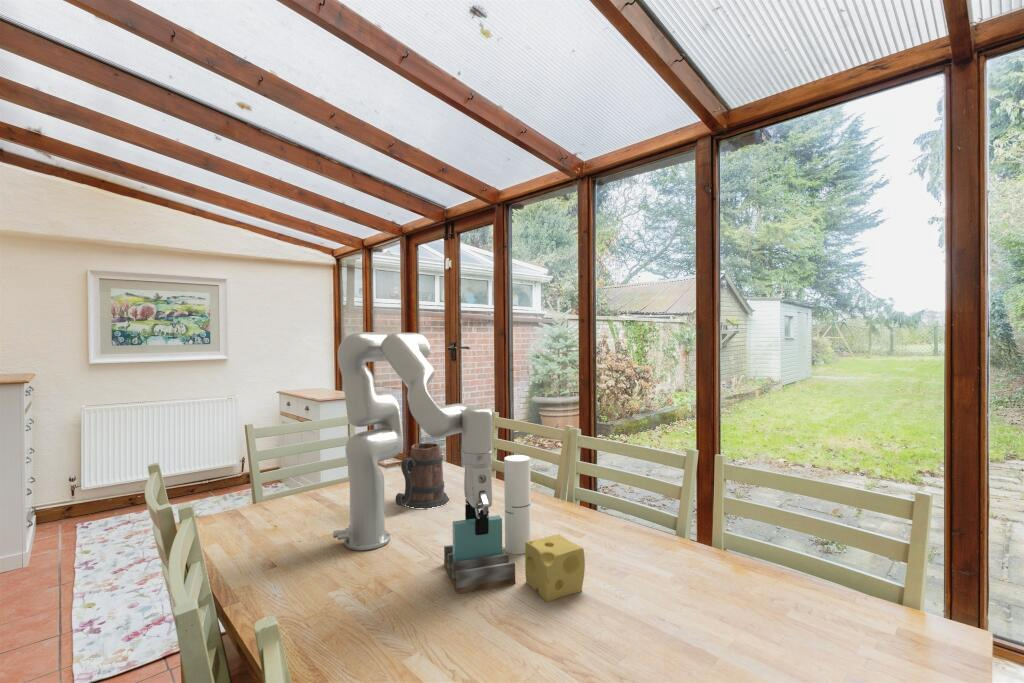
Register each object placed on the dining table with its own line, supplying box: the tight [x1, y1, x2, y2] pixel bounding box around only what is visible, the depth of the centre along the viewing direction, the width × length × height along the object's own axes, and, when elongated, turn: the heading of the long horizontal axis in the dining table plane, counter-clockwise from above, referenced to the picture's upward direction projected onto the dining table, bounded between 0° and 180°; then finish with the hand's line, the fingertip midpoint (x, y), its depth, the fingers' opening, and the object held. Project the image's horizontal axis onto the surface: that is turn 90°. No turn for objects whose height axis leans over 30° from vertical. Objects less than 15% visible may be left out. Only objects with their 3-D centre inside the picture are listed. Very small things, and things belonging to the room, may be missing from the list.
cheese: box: [524, 534, 586, 603], centre depth 113 cm, size 10×11×10 cm
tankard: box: [394, 442, 450, 508], centre depth 171 cm, size 24×17×20 cm
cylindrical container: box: [503, 454, 532, 555], centre depth 134 cm, size 7×7×25 cm
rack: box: [443, 544, 517, 595], centre depth 120 cm, size 14×16×5 cm
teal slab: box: [452, 514, 503, 562], centre depth 120 cm, size 12×2×12 cm, turn 109°
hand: (476, 526), depth 120 cm, fingers open, 9 cm apart
